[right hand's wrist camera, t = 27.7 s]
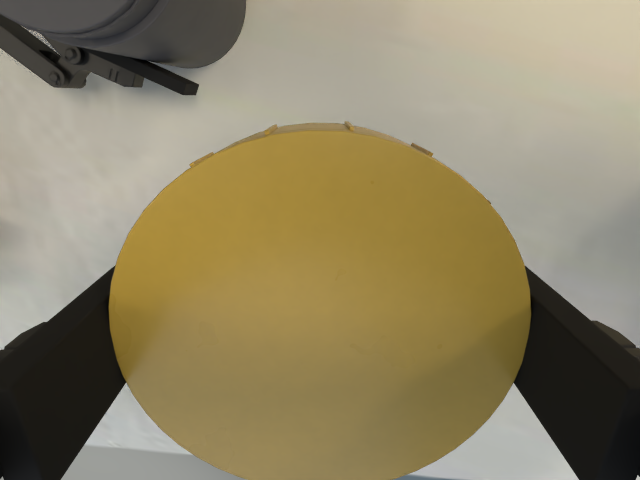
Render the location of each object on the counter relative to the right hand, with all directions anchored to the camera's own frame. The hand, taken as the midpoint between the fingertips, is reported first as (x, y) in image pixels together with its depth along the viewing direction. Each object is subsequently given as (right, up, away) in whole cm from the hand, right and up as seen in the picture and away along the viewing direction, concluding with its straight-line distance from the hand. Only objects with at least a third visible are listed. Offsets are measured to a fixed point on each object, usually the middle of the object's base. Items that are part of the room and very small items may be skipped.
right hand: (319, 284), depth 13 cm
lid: (0, -1, -3) cm, 3 cm away
